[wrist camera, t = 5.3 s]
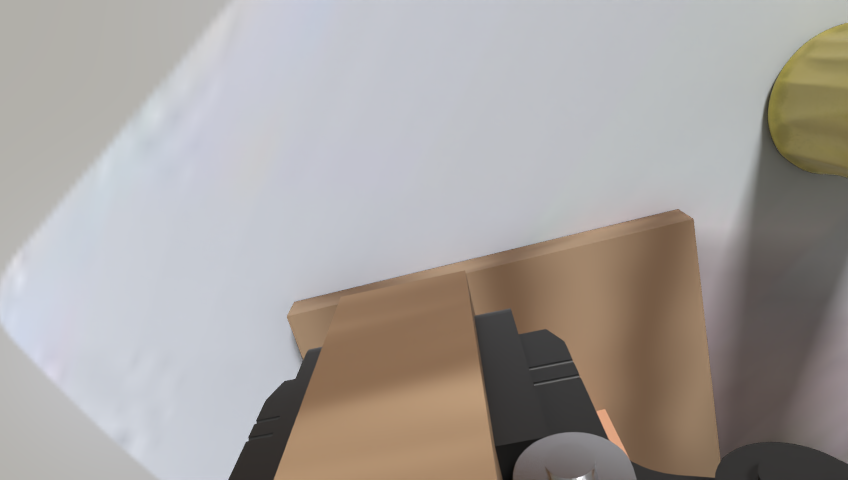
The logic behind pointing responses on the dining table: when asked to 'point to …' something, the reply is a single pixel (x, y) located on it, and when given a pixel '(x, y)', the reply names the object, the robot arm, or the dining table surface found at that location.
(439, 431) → the wooden stamp block
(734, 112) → the dining table surface
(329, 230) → the dining table surface
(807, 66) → the vase
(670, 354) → the board
